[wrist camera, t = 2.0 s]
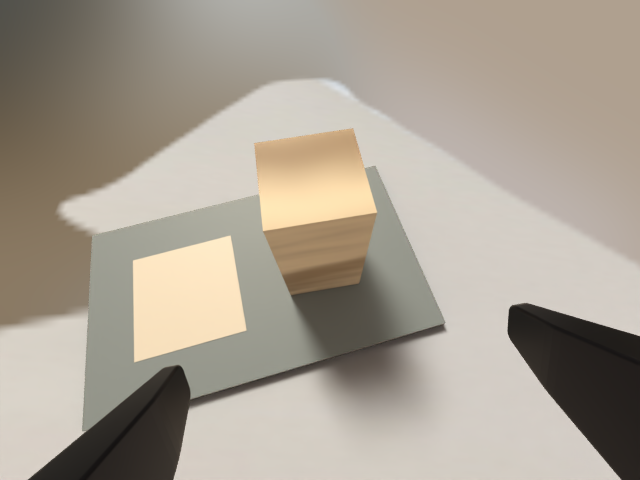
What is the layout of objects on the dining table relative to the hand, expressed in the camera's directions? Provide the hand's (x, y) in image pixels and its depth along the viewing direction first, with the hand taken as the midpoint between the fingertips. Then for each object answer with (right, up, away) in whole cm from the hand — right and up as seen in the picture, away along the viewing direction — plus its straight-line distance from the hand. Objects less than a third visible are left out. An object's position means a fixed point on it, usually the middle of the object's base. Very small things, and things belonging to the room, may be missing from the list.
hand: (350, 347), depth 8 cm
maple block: (-1, +2, +15) cm, 15 cm away
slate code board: (-6, 0, +15) cm, 16 cm away
